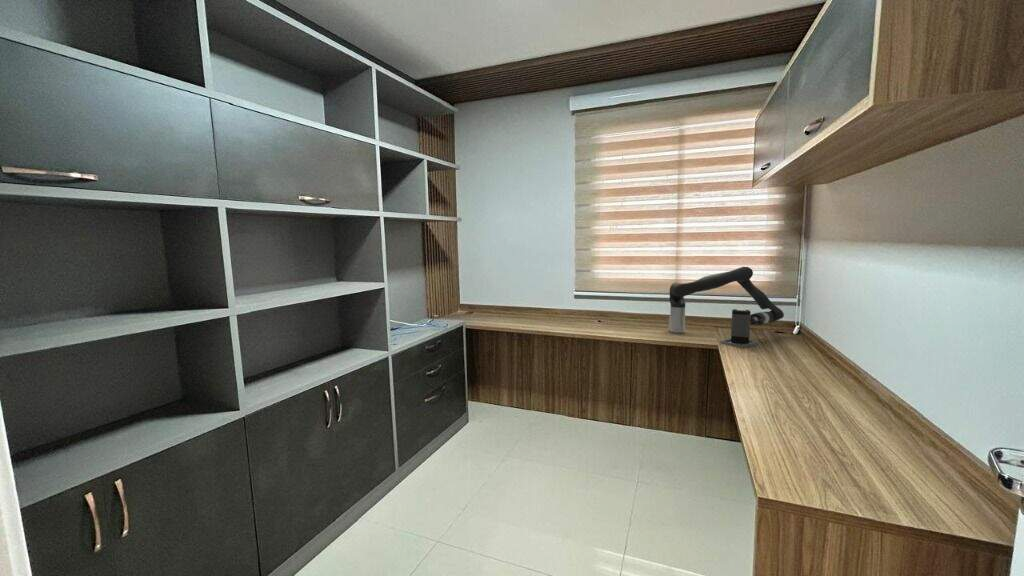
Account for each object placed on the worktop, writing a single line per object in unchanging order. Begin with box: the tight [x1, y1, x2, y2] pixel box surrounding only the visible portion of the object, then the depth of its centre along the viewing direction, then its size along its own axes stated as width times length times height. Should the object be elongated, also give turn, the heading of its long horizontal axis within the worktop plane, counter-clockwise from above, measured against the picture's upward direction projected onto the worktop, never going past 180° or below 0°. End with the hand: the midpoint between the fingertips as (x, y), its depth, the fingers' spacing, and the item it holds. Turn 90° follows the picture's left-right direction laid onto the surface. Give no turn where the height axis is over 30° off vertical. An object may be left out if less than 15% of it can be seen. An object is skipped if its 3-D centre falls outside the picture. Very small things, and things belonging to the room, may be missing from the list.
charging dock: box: [719, 337, 759, 349], centre depth 234 cm, size 13×16×2 cm
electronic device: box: [730, 308, 751, 345], centre depth 232 cm, size 9×6×20 cm, turn 62°
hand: (744, 321), depth 235 cm, fingers open, 8 cm apart
